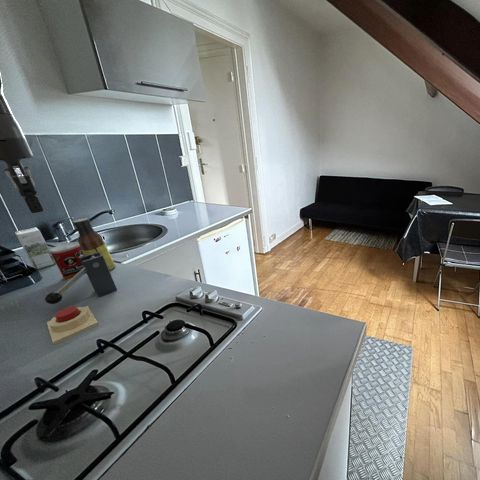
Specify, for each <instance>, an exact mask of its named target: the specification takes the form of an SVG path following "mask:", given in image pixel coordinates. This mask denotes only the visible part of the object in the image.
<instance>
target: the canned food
mask: <svg viewBox="0 0 480 480" xmlns="http://www.w3.org/2000/svg"><path fill="white" fill-rule="evenodd" d="M49 250H50V253H51V255H52V257H53V259H54V261H55V262H56V264H55V265H56V267H57V269H58V270H59V272H60V274H61V276H62V278H63V279H64V280H65V281H69V280H71V279H72V278H73V277H74V276H75V275H76V274H77V273H78V272H79V271H81V270H82V269H83V268H84V267H83V265H82V262H81V260H80V258H79V257H82V256H85V255H84V253H83V251H82V248H81V246H80V244H79V243H78V241H70V242H66V243H62V244H58V245H55V246H53V247H52V248H49ZM84 275H87V273H85V274H84Z"/></svg>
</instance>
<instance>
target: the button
mask: <svg viewBox="0 0 480 480" xmlns="http://www.w3.org/2000/svg"><path fill="white" fill-rule="evenodd" d="M79 314H80V312H79V310H78V307H77V306H73V305H72V306H68V307H65V308H62V309H61V310H58V312H56V313H55V314H54V317H56V319H57V321H58V322H59V323H62V322H66V321H69V320H71V319H74V318H75V317H77V316H78V315H79Z"/></svg>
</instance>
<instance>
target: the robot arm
mask: <svg viewBox="0 0 480 480" xmlns="http://www.w3.org/2000/svg"><path fill="white" fill-rule="evenodd" d="M32 158H34V153H33V152H32V149H31V147H30V145H29V143H28V140H27V139H26V136H25V134H24V132H23V130H22V128H21V126H20V124H19V122H18V121H17V119H16V118H15V115H14V114H13V112H12V110H11V107H10V105H9V103H8V101H7V99H6V97H5V95H4V87H3V81H2V74H1V72H0V161H2V162H5V164H6V166H7V168H3V171H4V173H5V175H6V177H7V178H9V180H10V182H11V184H12V185H13V188H14V189H15V190H18V193H19V195H20V197H21V198H22V199H23V200H24V201H25V204H26V206H27V208H28V209H29V211H30V213H31V214H37V213H42V212H44V208H43V206H42V204H41V202H40V200H39V198H38V191H36V188H35V187H36V184H35V182H34V180H33V178H32V172H31V170H30V168H29V166H23V164H22V162H21V160H24V159H32Z"/></svg>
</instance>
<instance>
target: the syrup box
mask: <svg viewBox="0 0 480 480" xmlns="http://www.w3.org/2000/svg"><path fill="white" fill-rule="evenodd" d="M14 234H15V236H16V238H17V239H18V241H19V243H20V245H21V247H22V249H23V250H24V253H25V254H26V256H27V258H28V260H29V261H30V263H31V265H32V267H33V268H34V269H35V268H36V269H38V270H41V269H44V268H48V267H51V266H54V265H57V264H56V262H55V261H54V259H53V257H52V255H51V253H50V248H49V247H48V244H47V243H46V240H45V238H44V236H43V234H42V232H41V230H40V229H39V228H37V227H36V226H35V227H31V228H27V229H22V230H17V231H14ZM36 269H35V270H36Z"/></svg>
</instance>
